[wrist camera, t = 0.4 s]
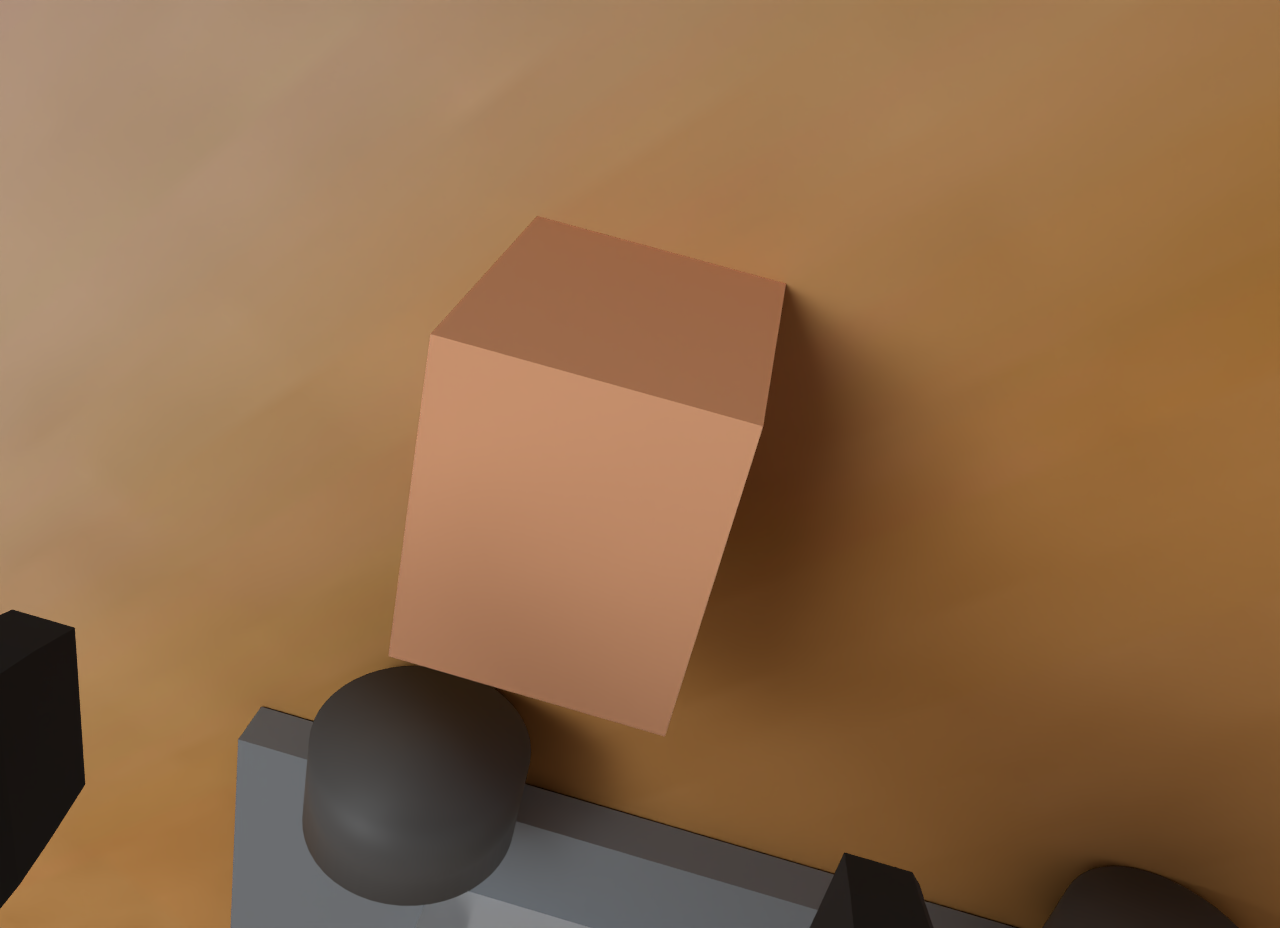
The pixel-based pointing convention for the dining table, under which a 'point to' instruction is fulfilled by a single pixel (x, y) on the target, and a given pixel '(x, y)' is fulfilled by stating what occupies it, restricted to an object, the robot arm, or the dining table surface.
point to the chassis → (520, 835)
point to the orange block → (582, 469)
